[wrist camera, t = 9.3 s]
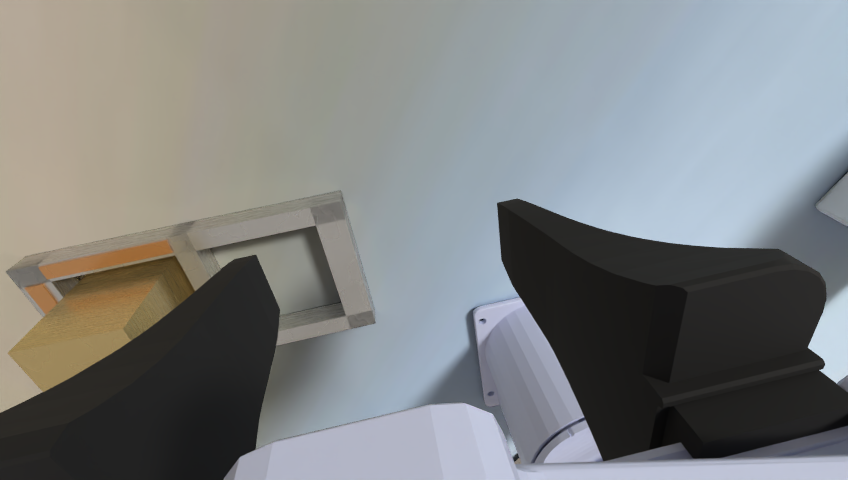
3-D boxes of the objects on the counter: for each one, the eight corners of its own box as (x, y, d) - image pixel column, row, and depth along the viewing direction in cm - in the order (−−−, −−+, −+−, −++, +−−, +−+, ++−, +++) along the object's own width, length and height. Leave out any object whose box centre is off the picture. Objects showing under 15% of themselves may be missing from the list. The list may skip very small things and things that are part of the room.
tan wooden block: (211, 317, 24) (173, 401, 19) (133, 334, 24) (72, 423, 19) (176, 253, 22) (122, 328, 17) (90, 270, 22) (7, 353, 16)
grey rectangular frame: (374, 308, 25) (375, 324, 24) (111, 367, 25) (98, 387, 23) (340, 190, 21) (339, 202, 20) (25, 256, 21) (3, 272, 19)
